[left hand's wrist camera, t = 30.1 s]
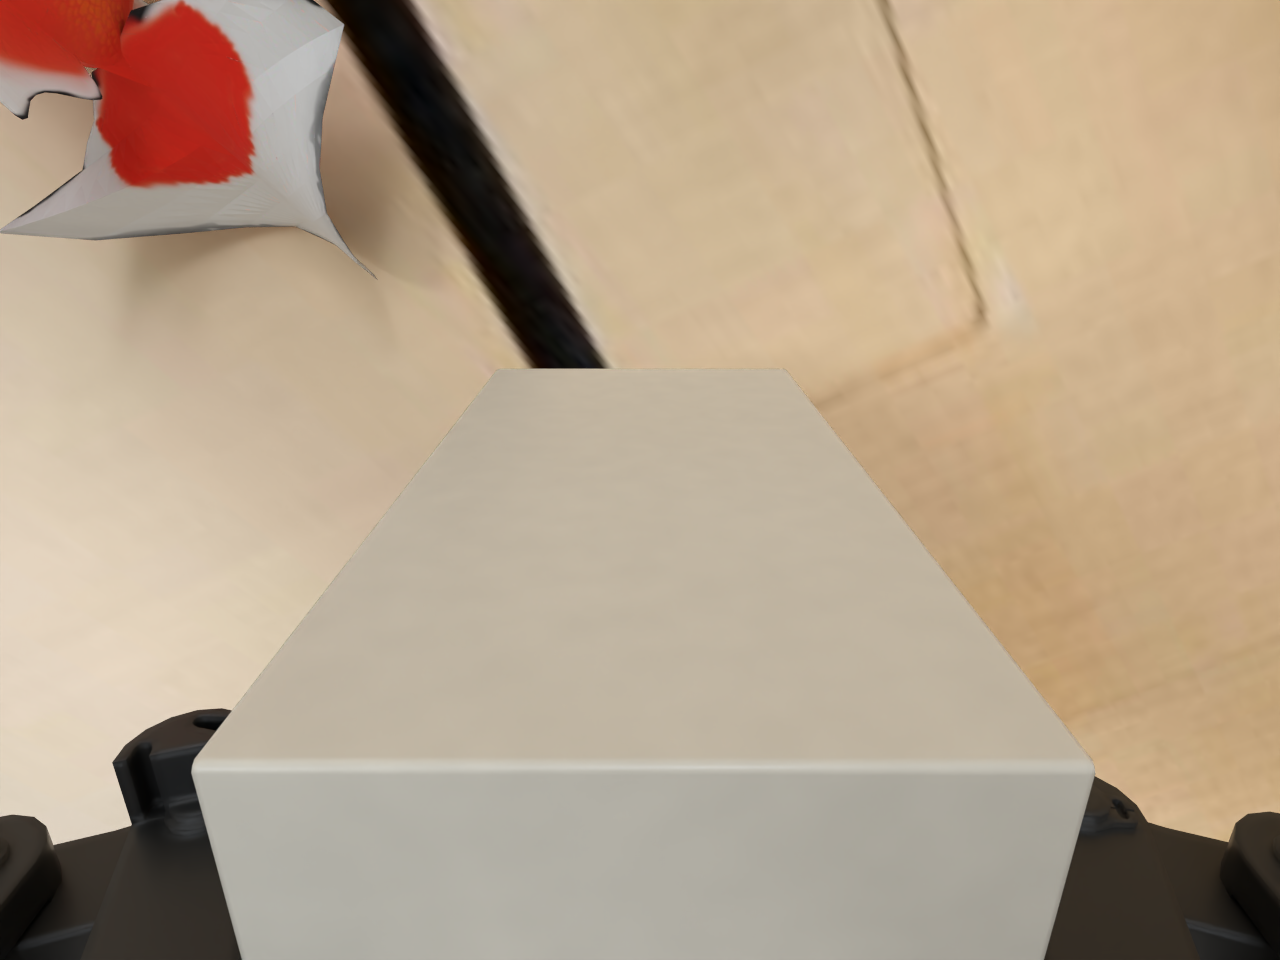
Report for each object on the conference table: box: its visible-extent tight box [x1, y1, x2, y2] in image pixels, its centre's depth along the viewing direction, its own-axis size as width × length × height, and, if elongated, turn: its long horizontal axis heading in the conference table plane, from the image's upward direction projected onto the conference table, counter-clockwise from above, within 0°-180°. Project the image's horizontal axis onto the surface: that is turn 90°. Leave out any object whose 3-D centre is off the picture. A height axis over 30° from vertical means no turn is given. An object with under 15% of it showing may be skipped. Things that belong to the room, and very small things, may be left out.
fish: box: [0, 0, 377, 279], centre depth 21 cm, size 11×16×10 cm
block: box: [191, 369, 1095, 960], centre depth 12 cm, size 6×7×12 cm
